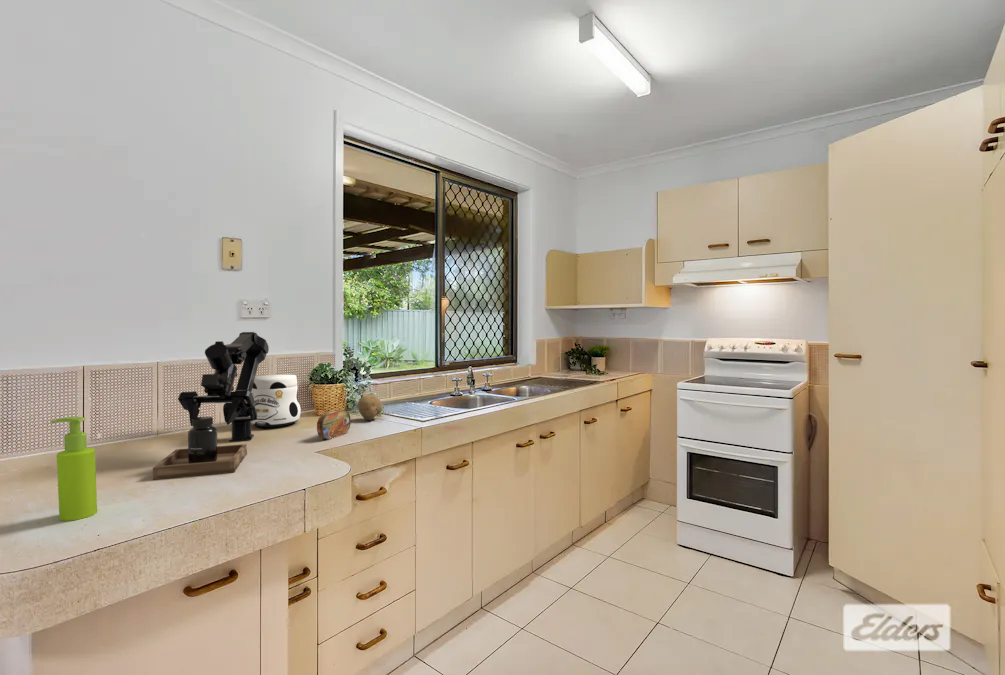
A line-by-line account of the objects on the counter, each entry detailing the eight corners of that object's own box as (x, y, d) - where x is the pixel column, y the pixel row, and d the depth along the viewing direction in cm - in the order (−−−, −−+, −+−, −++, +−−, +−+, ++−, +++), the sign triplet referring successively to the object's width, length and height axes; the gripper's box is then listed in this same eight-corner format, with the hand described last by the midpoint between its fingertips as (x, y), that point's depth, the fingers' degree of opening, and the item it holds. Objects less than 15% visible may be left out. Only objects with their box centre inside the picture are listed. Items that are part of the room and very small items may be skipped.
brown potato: (372, 416, 200) (371, 392, 200) (387, 419, 195) (386, 393, 194) (353, 420, 193) (353, 395, 192) (368, 423, 188) (368, 397, 187)
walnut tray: (176, 459, 141) (175, 449, 141) (247, 454, 146) (246, 444, 146) (153, 479, 124) (152, 467, 124) (234, 472, 129) (234, 460, 129)
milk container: (250, 432, 175) (248, 380, 174) (249, 423, 190) (248, 375, 189) (303, 426, 183) (302, 377, 182) (298, 418, 198) (297, 373, 197)
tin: (323, 442, 160) (322, 416, 160) (315, 441, 161) (314, 415, 161) (351, 431, 175) (351, 407, 174) (344, 431, 176) (343, 407, 175)
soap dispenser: (69, 510, 104) (64, 415, 103) (104, 509, 105) (100, 414, 104) (45, 521, 98) (41, 421, 98) (83, 520, 99) (79, 420, 98)
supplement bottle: (189, 467, 130) (188, 421, 130) (187, 461, 136) (185, 417, 135) (219, 462, 134) (218, 418, 134) (216, 457, 140) (214, 414, 139)
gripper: (179, 363, 142) (161, 409, 132) (249, 362, 145) (237, 407, 135) (192, 387, 150) (176, 432, 140) (259, 385, 153) (248, 429, 143)
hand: (209, 424), depth 139 cm, fingers open, 9 cm apart
